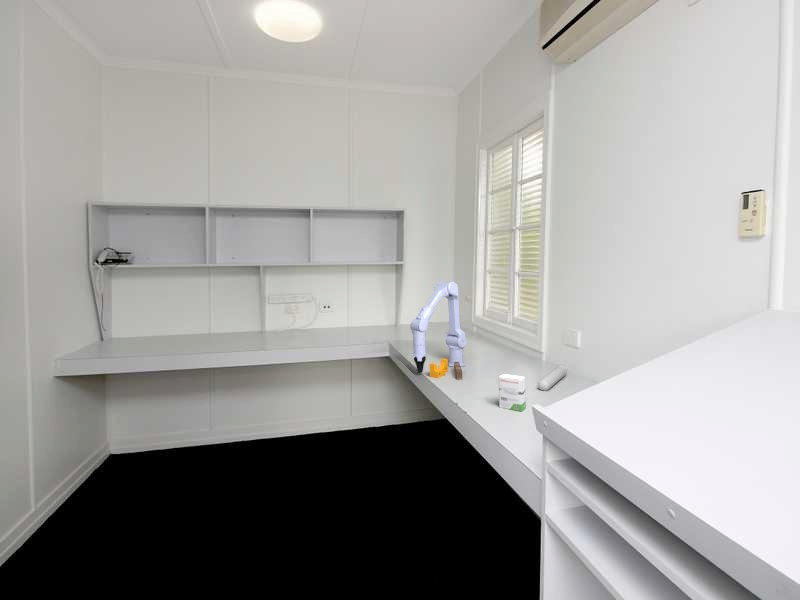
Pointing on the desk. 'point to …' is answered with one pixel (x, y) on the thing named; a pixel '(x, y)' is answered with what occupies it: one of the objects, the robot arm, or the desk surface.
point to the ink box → (512, 392)
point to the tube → (552, 378)
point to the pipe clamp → (439, 369)
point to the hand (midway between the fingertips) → (420, 372)
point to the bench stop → (458, 370)
